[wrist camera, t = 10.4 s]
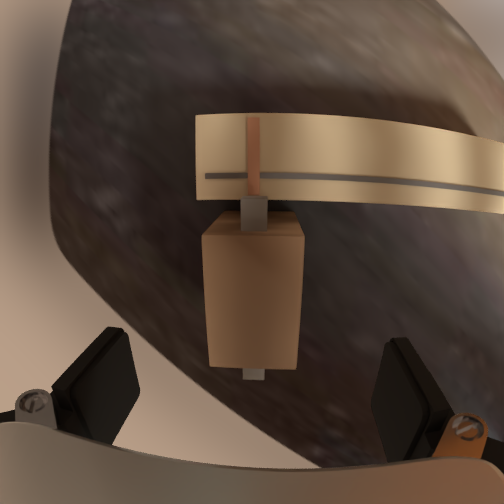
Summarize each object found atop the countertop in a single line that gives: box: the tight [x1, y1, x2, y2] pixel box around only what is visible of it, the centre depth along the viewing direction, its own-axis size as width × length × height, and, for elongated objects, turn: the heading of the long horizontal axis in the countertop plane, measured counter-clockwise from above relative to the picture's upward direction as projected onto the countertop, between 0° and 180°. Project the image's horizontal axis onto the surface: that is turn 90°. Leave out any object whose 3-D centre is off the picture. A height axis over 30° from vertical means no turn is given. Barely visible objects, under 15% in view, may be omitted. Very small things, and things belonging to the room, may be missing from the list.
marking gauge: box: [202, 196, 305, 380], centre depth 18 cm, size 4×10×7 cm, turn 0°
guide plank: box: [196, 113, 504, 214], centre depth 17 cm, size 20×4×4 cm, turn 90°
